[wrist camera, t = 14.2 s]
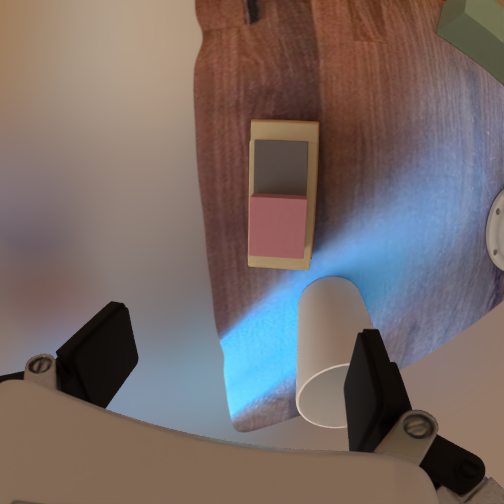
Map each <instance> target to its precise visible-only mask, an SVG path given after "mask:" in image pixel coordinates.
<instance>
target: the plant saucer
mask: <svg viewBox="0 0 504 504" xmlns="http://www.w3.org/2000/svg"><path fill="white" fill-rule="evenodd" d="M494 1H495V2H497V3H498V4H499V5H500V6H501V7H502V8H504V0H494Z"/></svg>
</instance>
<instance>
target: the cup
mask: <svg viewBox="0 0 504 504" xmlns="http://www.w3.org/2000/svg"><path fill="white" fill-rule="evenodd" d="M363 329H374V327H373V324H372V321H371V319H370V316H369V314H368V311H367V309H366V306H365V304H364V301H363V299H362V296H361V294H360V292H359V290H358V288H357V287H356V286H355V285H354V284H353V283H352V282H350V281H349V280H347V279H344V278H341V277H335V276H330V277H324V278H320V279H318V280H316V281H314V282H312V283H311V284H310V285H308V286H307V287H306V288H305V290H304V291H303V292H302V294H301V296H300V298H299V302H298V339H297V379H296V405H297V409H298V411H299V413H300V414H301V415H302V416H303V417H304V418H305V419H306V420H307V421H309V422H311V423H313V424H315V425H318V426H321V427H327V428H345V427H347V418H346V408H345V399H344V382H345V379H346V375H347V372H348V368H349V365H350V361H351V357H352V354H353V350H354V346H355V342H356V338H357V334H358V333H359V332H362V331H363Z"/></svg>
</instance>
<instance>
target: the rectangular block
mask: <svg viewBox="0 0 504 504" xmlns="http://www.w3.org/2000/svg"><path fill="white" fill-rule="evenodd" d="M436 34H437V35H439V36H440V37H442V38H443V39H445V40H446V41H448V42H449V43H451V44H452V45H454V46H455V47H457V48H458V49H459V50H461V51H462V52H463V53H465V54H466V55H468V56H469V57H470V58H472V59H473V60H474V61H475V62H477V63H478V64H479V65H481V66H482V67H483V68H484V69H485V70H487V71H488V72H489V73H490V74H491V75H493V76H494V77H495V78H496V79H497V80H498V81H499V82H501V83H502V84H503V85H504V8H502V7H501V6H500V5H499V4H498V3H497V2H495V1H494V0H447V1H446V2H445V3H444V4H443V6H442V10H441V15H440V19H439V23H438V27H437V31H436Z"/></svg>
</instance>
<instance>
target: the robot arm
mask: <svg viewBox="0 0 504 504" xmlns="http://www.w3.org/2000/svg"><path fill="white" fill-rule="evenodd" d="M486 245H487V250H488V253H489V256H490V258H491V260H492V261H493V263H494V264H495V265H496V266H497V267H498V268H500V269H501V270H503V271H504V189H503V190H502V191H501V192H500V193H499V194H498V196H497V197H496V199H495V201H494V203H493V205H492V207H491V209H490V213H489V216H488V220H487V226H486ZM56 354H57V356H58V357H57V358H56V359H55V358H54V357H53V356H52V355H49V354H39V355H36V356H34V357H32V358H31V359H29V361H28V362H27V363H26V366H25V371H22V372H17V373H12V374H8V375H3V376H0V504H504V489H503V488H502V487H501V486H500V485H499V484H498V483H497V482H496V481H495V480H494V479H493V478H492V477H490V478H489V479H487V477H486V476H485V466H484V463H483V461H482V460H481V459H480V458H479V457H478V456H476V455H474V454H473V453H471V452H469V451H467V450H465V449H463V448H461V447H459V446H457V445H455V444H454V443H452V442H450V441H448V440H446V439H445V438H443V437H441V436H439V435H437V432H438V423H437V421H436V419H435V418H434V417H433V416H432V415H431V414H429V413H428V412H425V411H422V410H412V407H411V404H410V401H409V398H408V395H407V392H406V389H405V386H404V383H403V380H402V377H401V374H400V372H399V369H398V366H397V364H396V363H395V362H390V360H389V357H388V354H387V351H386V349H385V346H384V343H383V340H382V338H381V335H380V332H379V330H378V329H363V331H362V332H359V333H358V334H357V338H356V342H355V346H354V350H353V354H352V357H351V361H350V365H349V368H348V372H347V375H346V379H345V382H344V399H345V408H346V418H347V428H348V438H349V451H324V450H304V449H291V448H279V447H269V446H260V445H252V444H245V443H238V442H231V441H225V440H220V439H214V438H209V437H204V436H199V435H194V434H189V433H185V432H181V431H177V430H173V429H169V428H165V427H161V426H158V425H153V424H150V423H147V422H144V421H140V420H137V419H134V418H131V417H127V416H124V415H121V414H118V413H115V412H112V411H110V410H107V409H106V407H107V406H108V404H109V403H110V401H111V400H112V398H113V397H114V396H115V394H116V393H117V391H118V390H119V389H120V387H121V386H122V384H123V383H124V381H125V380H126V379H127V377H128V376H129V375H130V373H131V372H132V370H133V369H134V368H135V366H136V365H137V363H138V353H137V349H136V344H135V340H134V335H133V330H132V326H131V321H130V315H129V310H128V308H127V307H125V305H124V304H123V303H119V302H113V301H111V302H110V303H109V304H107V305H106V306H105V307H104V308H103V309H102V310H101V311H99V312H98V313H97V314H96V315H95V316H94V317H93V318H92V319H91V320H90V321H89V322H87V323H86V324H85V325H84V326H83V327H82V328H81V329H80V330H79V331H77V332H76V333H75V334H74V335H73V336H72V337H71V338H70V339H69V340H68V341H67V342H66V343H65V344H64V345H63V346H61V347H60V348H59V349H58V350H57V351H56Z"/></svg>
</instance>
